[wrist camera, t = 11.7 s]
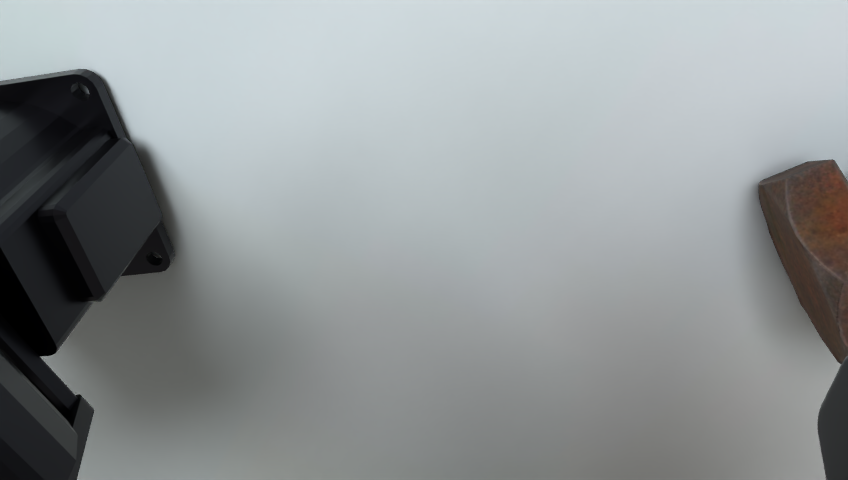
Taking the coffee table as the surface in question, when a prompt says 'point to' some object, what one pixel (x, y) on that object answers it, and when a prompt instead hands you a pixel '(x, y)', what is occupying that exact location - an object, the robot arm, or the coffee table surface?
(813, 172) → the bolt
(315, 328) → the coffee table surface
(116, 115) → the robot arm
